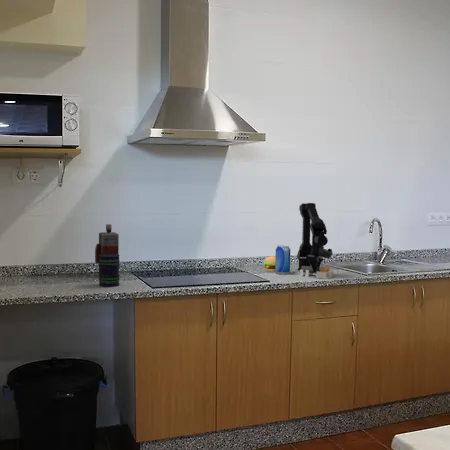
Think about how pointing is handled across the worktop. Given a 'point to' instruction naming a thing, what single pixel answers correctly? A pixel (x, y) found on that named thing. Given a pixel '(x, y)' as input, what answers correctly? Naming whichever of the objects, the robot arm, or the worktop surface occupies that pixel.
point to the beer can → (282, 260)
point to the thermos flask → (107, 243)
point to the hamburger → (270, 264)
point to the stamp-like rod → (321, 269)
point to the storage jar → (109, 270)
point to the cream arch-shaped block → (324, 274)
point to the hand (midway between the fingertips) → (316, 271)
